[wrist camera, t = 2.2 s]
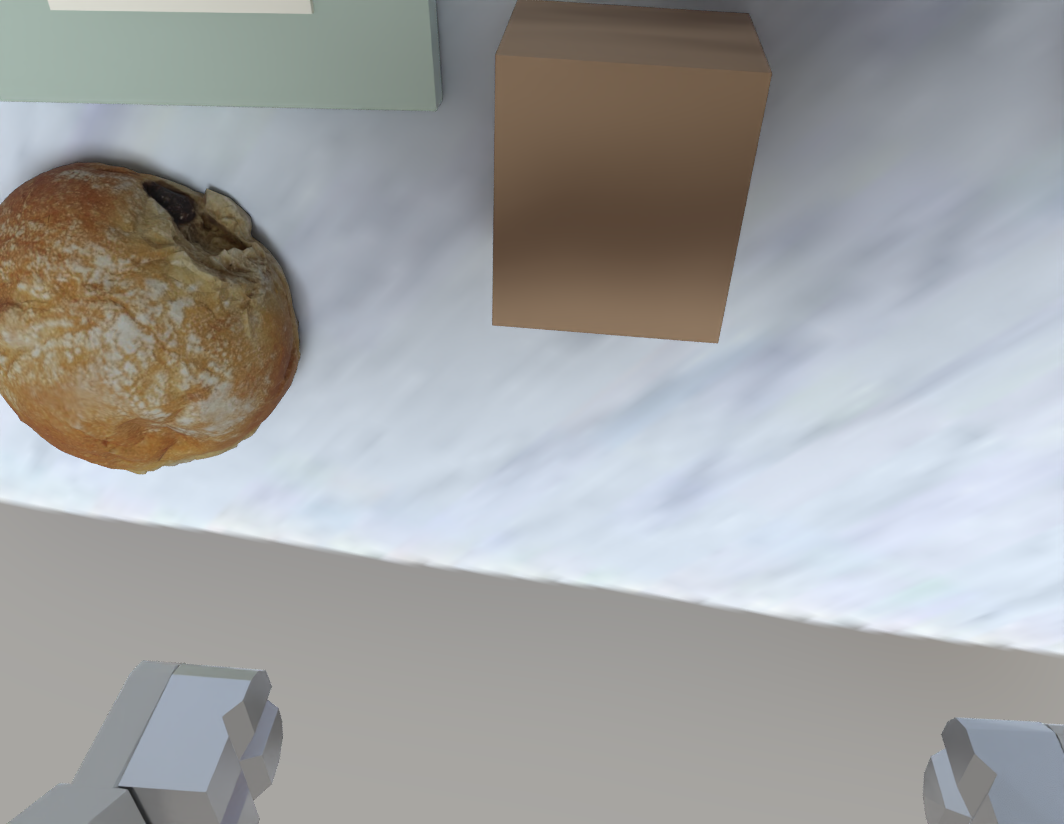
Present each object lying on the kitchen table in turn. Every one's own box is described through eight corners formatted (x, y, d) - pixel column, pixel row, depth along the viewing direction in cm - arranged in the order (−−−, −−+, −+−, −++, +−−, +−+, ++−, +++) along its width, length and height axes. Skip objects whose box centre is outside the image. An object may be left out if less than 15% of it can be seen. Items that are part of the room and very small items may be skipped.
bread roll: (356, 239, 32) (330, 260, 25) (254, 486, 34) (200, 577, 27) (82, 115, 30) (-40, 96, 23) (-10, 385, 32) (-150, 451, 25)
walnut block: (518, -3, 23) (495, 54, 19) (748, 12, 23) (772, 73, 19) (512, 238, 28) (492, 325, 24) (706, 253, 27) (717, 343, 24)
